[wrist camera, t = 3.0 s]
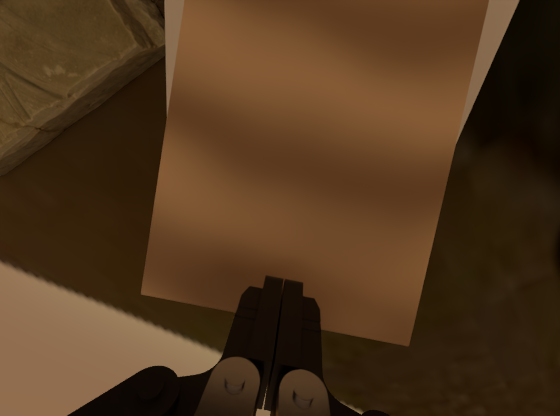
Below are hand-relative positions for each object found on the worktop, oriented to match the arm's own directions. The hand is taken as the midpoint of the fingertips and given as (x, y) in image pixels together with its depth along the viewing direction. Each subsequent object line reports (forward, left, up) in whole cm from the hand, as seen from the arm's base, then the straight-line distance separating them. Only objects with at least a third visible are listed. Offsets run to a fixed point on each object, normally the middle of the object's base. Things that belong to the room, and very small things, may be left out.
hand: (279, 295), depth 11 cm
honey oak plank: (-4, 0, -5) cm, 6 cm away
